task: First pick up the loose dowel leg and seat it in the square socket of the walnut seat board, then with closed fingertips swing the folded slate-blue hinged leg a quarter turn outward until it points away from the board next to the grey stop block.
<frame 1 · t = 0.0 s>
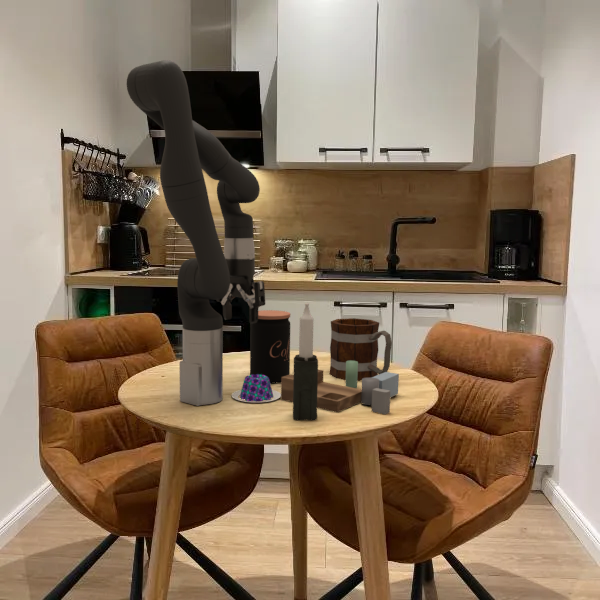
hand: (240, 321, 149), 17 cm above the table, tool pointing down, fingers open, 8 cm apart
pudding: (256, 398, 144), on the table
hinged leg: (379, 387, 142), point 3 cm above the table, hinge at 0.0°
mug: (361, 377, 164), on the table
coffee jar: (269, 379, 160), on the table
dowel leg: (351, 388, 152), on the table
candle: (304, 417, 129), on the table
stop block: (380, 411, 133), on the table
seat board: (329, 401, 141), on the table
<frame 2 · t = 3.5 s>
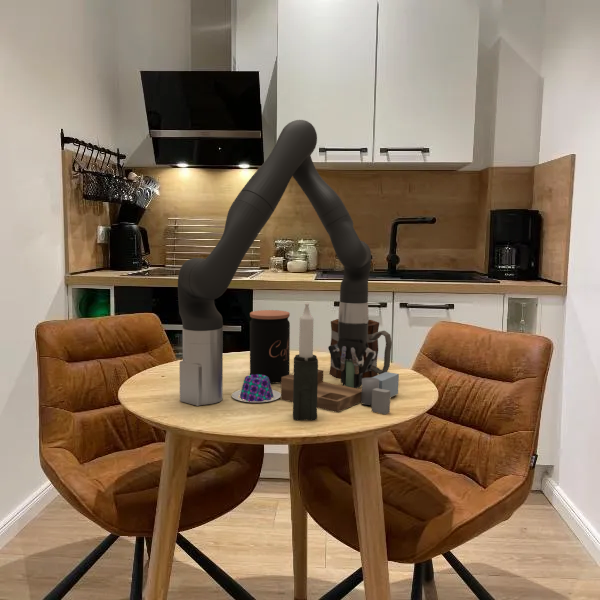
hand: (351, 386, 152), 1 cm above the table, tool pointing down, fingers closed on dowel leg, 3 cm apart
dowel leg: (351, 388, 152), on the table, touching gripper
everything else where it was.
when the fingers open (3 cm above the table, at t = 7.7 s): dowel leg drops 2 cm, resting in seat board.
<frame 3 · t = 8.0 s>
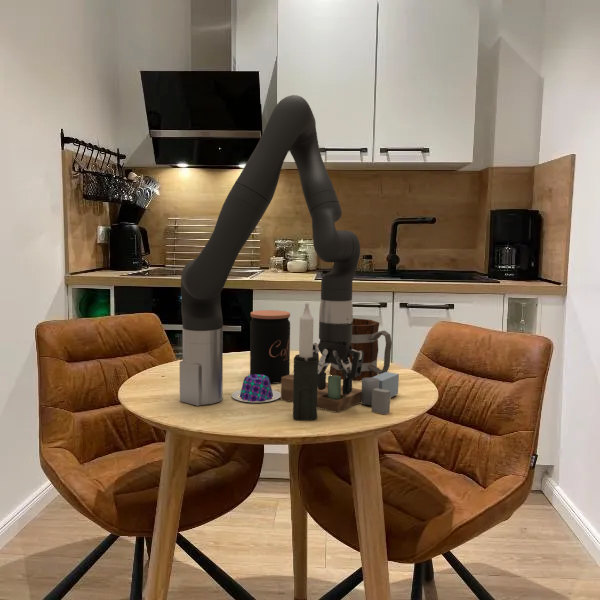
hand: (334, 391, 136), 4 cm above the table, tool pointing down, fingers open, 6 cm apart
dowel leg: (333, 406, 137), resting in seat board
everything else where it was.
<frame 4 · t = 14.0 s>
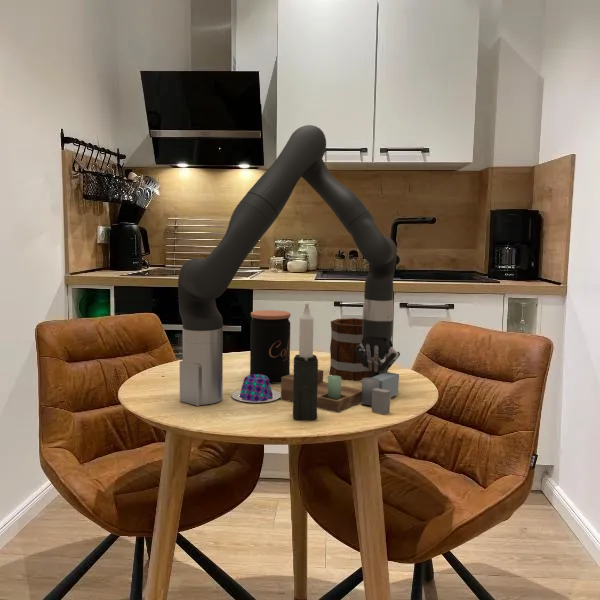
hand: (375, 385, 150), 2 cm above the table, tool pointing down, fingers closed
hinged leg: (379, 387, 142), point 3 cm above the table, hinge at 0.3°, touching gripper
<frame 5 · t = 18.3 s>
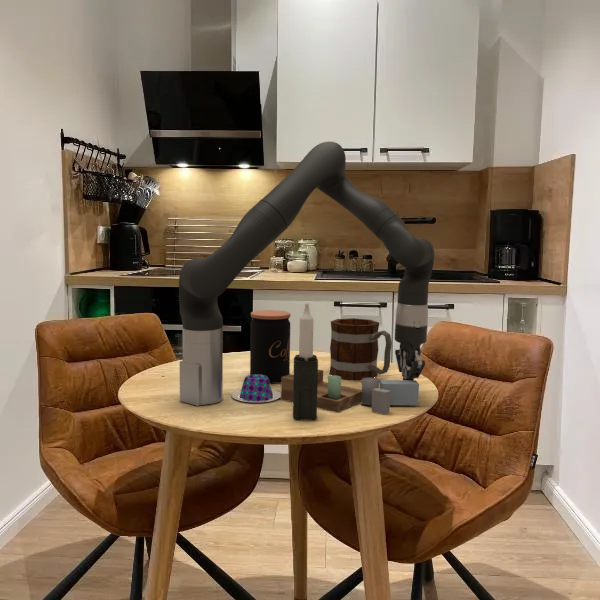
hand: (407, 392, 143), 2 cm above the table, tool pointing down, fingers closed
hinged leg: (389, 391, 139), point 3 cm above the table, hinge at 52.7°, touching gripper
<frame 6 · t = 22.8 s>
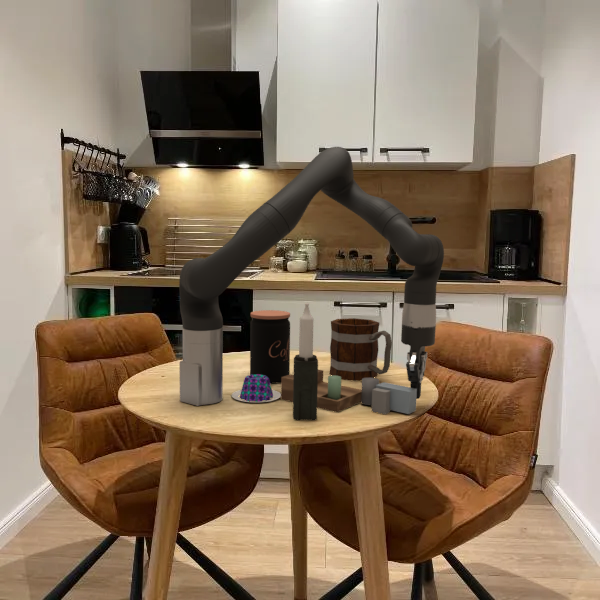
hand: (415, 397, 136), 2 cm above the table, tool pointing down, fingers closed
hinged leg: (387, 394, 136), point 3 cm above the table, hinge at 91.8°
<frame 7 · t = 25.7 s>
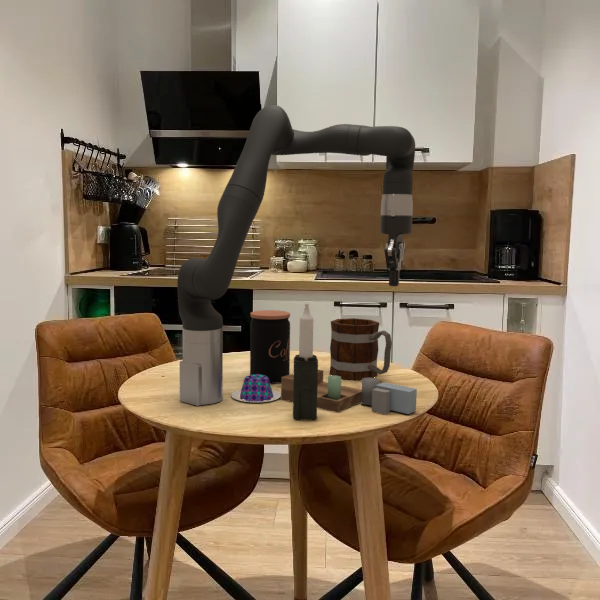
hand: (393, 285, 145), 27 cm above the table, tool pointing down, fingers closed
at the end: hinged leg at +92° (first picture: +0°); dowel leg 0.1 cm from the target spot on the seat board, point 0.0 cm above the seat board's base; dowel leg tilted 0° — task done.
